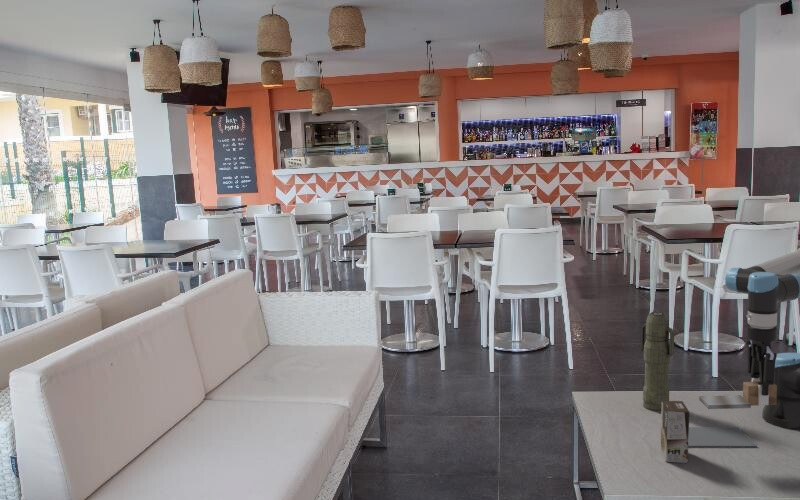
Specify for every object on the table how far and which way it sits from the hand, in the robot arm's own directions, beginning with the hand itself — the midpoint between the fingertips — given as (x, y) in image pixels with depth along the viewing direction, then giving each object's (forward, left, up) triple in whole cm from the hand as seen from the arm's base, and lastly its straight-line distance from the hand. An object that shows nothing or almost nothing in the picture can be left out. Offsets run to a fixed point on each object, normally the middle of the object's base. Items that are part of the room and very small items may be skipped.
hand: (759, 401), depth 194 cm
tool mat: (+9, -15, -18) cm, 25 cm away
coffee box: (+24, -2, -18) cm, 30 cm away
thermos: (+18, -41, -18) cm, 48 cm away
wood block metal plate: (+6, 0, 0) cm, 6 cm away
